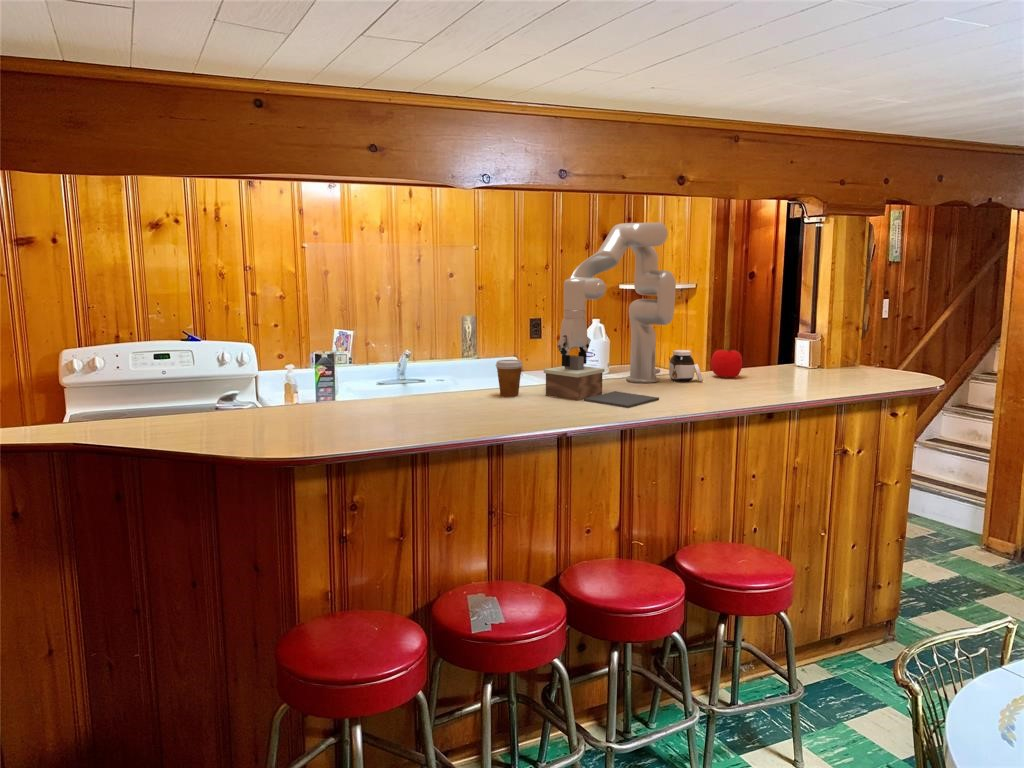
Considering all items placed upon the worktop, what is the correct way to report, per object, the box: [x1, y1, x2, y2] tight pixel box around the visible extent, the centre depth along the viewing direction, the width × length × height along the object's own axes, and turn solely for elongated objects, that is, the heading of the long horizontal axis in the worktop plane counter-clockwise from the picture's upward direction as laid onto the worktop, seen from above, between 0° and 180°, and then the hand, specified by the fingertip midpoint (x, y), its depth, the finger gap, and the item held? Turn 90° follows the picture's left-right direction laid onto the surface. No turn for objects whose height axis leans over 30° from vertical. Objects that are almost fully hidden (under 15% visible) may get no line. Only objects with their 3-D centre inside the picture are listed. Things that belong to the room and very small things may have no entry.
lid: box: [543, 354, 605, 377], centre depth 256 cm, size 15×15×7 cm
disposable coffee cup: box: [495, 359, 523, 398], centre depth 257 cm, size 10×10×12 cm
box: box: [545, 373, 603, 401], centre depth 257 cm, size 14×14×8 cm
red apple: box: [710, 348, 743, 379], centre depth 292 cm, size 12×13×12 cm
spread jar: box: [668, 349, 703, 383], centre depth 284 cm, size 12×11×12 cm
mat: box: [583, 390, 660, 409], centre depth 247 cm, size 18×18×1 cm
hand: (574, 364), depth 256 cm, fingers open, 8 cm apart
